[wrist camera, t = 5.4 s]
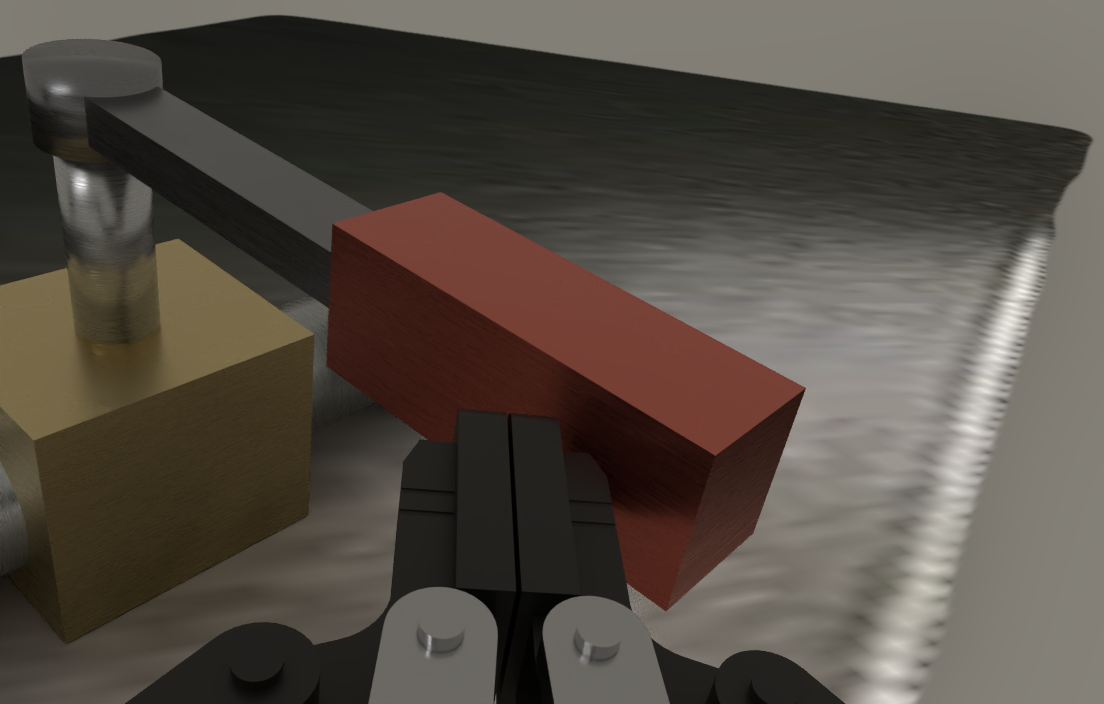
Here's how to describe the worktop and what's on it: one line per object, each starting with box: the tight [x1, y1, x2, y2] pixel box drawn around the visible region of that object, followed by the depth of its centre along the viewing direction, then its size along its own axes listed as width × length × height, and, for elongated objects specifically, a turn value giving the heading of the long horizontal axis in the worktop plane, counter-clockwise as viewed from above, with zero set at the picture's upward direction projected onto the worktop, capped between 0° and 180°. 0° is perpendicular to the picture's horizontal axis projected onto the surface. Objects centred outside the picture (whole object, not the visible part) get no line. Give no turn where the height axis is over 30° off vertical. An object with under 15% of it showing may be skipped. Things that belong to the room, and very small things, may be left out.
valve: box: [0, 156, 376, 644], centre depth 28 cm, size 23×7×12 cm, turn 139°
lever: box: [22, 39, 806, 611], centre depth 20 cm, size 20×3×3 cm, turn 49°
